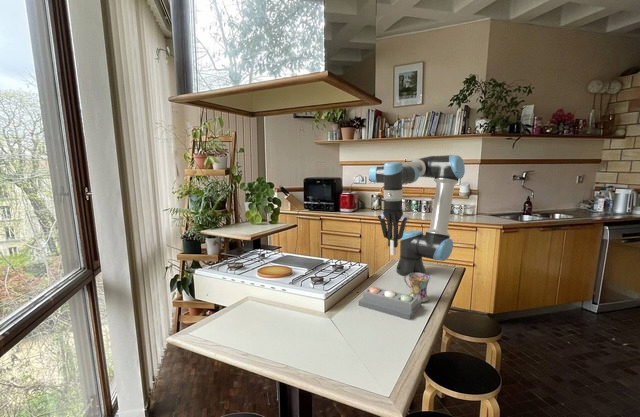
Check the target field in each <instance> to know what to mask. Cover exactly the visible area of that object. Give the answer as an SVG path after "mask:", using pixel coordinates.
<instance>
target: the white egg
mask: <svg viewBox="0 0 640 417" xmlns="http://www.w3.org/2000/svg"><path fill="white" fill-rule="evenodd" d="M395 292H396V291H395V290H394V291H392V290H389V291H385V296H387V297H391V298H394V297H395Z"/></svg>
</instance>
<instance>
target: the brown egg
mask: <svg viewBox="0 0 640 417" xmlns="http://www.w3.org/2000/svg"><path fill="white" fill-rule="evenodd" d="M370 287H371V286H370ZM379 288H380V287H376V286H373V287H371V288H370V290H369V292H371V293H375V294H378V293H380V289H379Z"/></svg>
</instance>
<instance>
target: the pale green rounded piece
mask: <svg viewBox="0 0 640 417" xmlns="http://www.w3.org/2000/svg"><path fill="white" fill-rule="evenodd" d="M403 294H404V295H401V300H403V301H407V302H411V301H412V296H410V295H409V294H405V293H403Z"/></svg>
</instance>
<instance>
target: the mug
mask: <svg viewBox="0 0 640 417" xmlns="http://www.w3.org/2000/svg"><path fill="white" fill-rule="evenodd" d="M406 277H407V278H408V281H409V283H408V282H407V280H406ZM403 280H404V283H405V284H406V286H407V287H408V288H409V294H408V295H410V296H414V297H418V301H420V302H421V303H425V302H427V301H428V300H429V296H428V293H427V290H428V284H429V282H430V280H431V276H430V275H429V274H427V273H425V274H423V273H410V274H409V275H408V276H404V277H403ZM409 284H410V285H409Z"/></svg>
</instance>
